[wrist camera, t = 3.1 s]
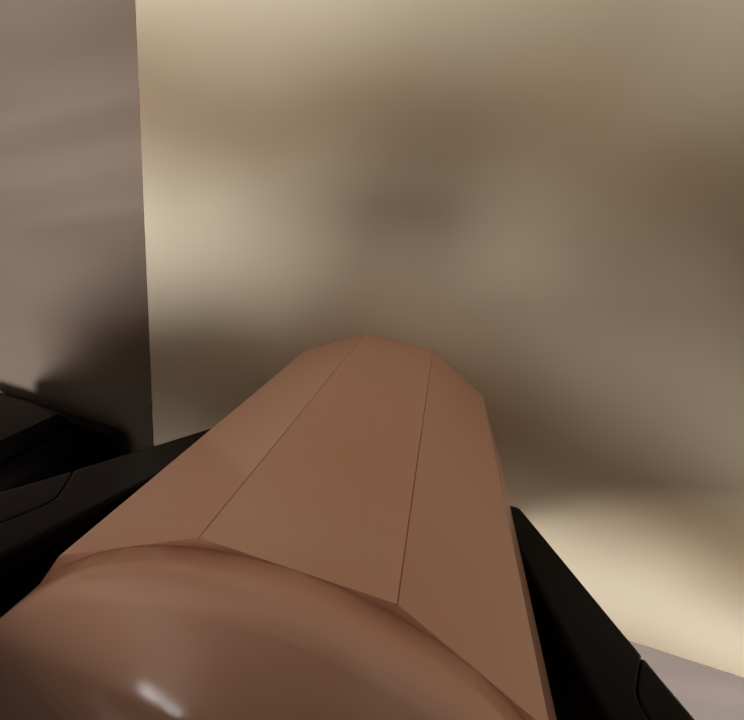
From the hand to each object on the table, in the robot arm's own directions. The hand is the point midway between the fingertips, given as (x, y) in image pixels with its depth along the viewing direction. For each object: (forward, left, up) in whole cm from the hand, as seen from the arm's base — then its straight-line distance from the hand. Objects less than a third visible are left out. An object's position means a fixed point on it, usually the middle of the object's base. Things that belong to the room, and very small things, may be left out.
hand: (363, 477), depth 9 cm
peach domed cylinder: (0, 0, -1) cm, 1 cm away
